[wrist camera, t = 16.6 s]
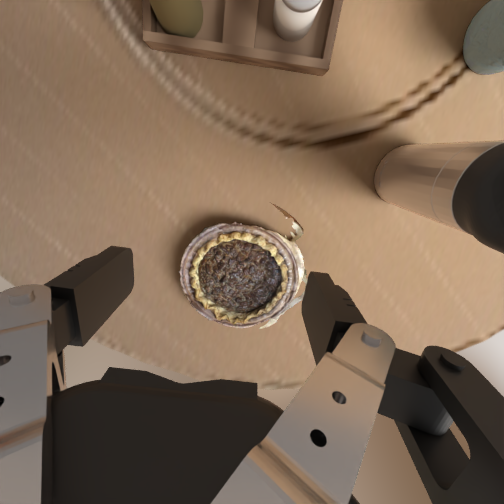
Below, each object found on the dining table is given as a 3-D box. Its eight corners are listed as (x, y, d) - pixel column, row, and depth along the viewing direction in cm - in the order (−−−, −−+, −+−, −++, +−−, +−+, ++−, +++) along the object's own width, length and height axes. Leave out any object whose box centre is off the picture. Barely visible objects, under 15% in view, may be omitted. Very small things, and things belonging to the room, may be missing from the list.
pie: (236, 348, 55) (234, 366, 50) (138, 265, 48) (125, 277, 43) (341, 271, 47) (350, 284, 43) (243, 159, 40) (241, 160, 35)
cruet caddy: (343, -29, 31) (352, -47, 28) (322, 75, 35) (328, 69, 32) (150, -63, 30) (139, -84, 27) (152, 49, 34) (143, 40, 31)
